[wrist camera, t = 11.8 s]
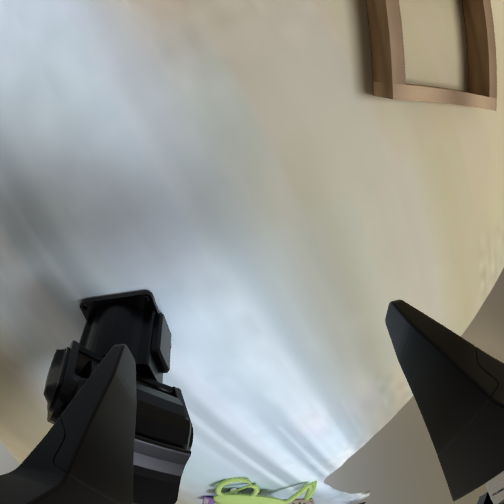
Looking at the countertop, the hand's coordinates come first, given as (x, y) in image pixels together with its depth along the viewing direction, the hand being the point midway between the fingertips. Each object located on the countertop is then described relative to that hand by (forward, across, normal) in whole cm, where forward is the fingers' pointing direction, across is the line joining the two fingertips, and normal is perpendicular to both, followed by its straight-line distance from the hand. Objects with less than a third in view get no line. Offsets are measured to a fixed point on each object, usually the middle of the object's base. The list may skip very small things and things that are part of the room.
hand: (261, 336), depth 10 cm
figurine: (+12, +4, +66) cm, 68 cm away
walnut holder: (+13, -16, -11) cm, 23 cm away
